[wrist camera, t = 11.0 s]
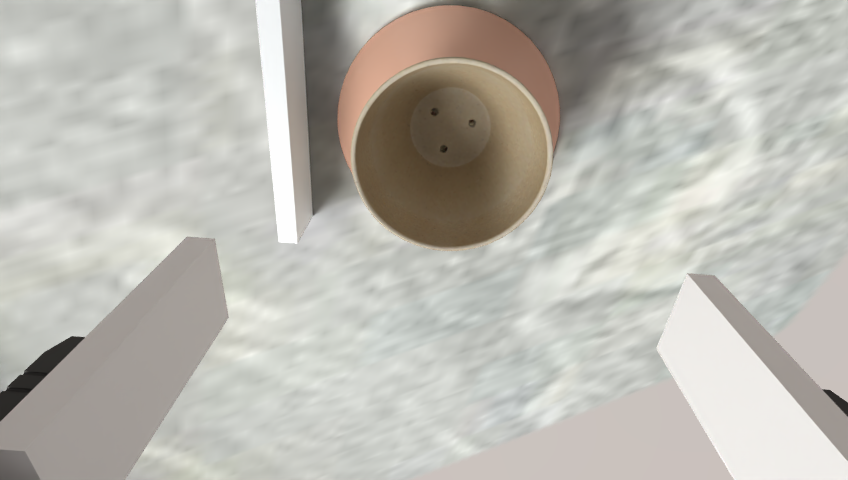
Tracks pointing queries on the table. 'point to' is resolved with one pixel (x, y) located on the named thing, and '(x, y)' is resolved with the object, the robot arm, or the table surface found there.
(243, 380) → the table surface
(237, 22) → the table surface
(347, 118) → the coaster
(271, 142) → the acrylic walls
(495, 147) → the flower pot
